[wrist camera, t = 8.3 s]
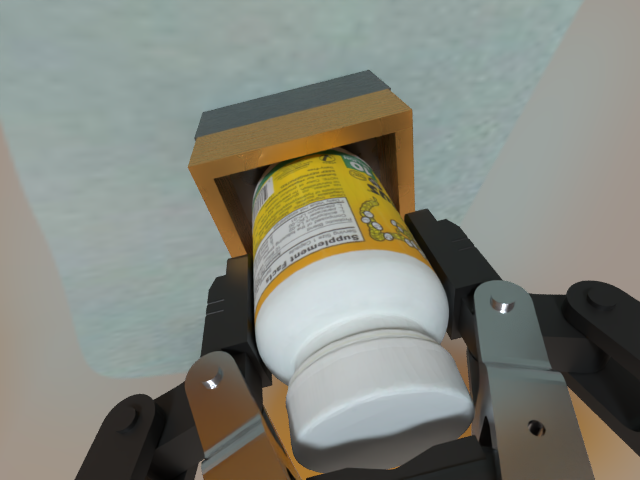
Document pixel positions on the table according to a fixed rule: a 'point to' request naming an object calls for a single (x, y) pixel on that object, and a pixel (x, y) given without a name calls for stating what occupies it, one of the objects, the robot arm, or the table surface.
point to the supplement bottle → (351, 318)
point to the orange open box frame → (300, 145)
